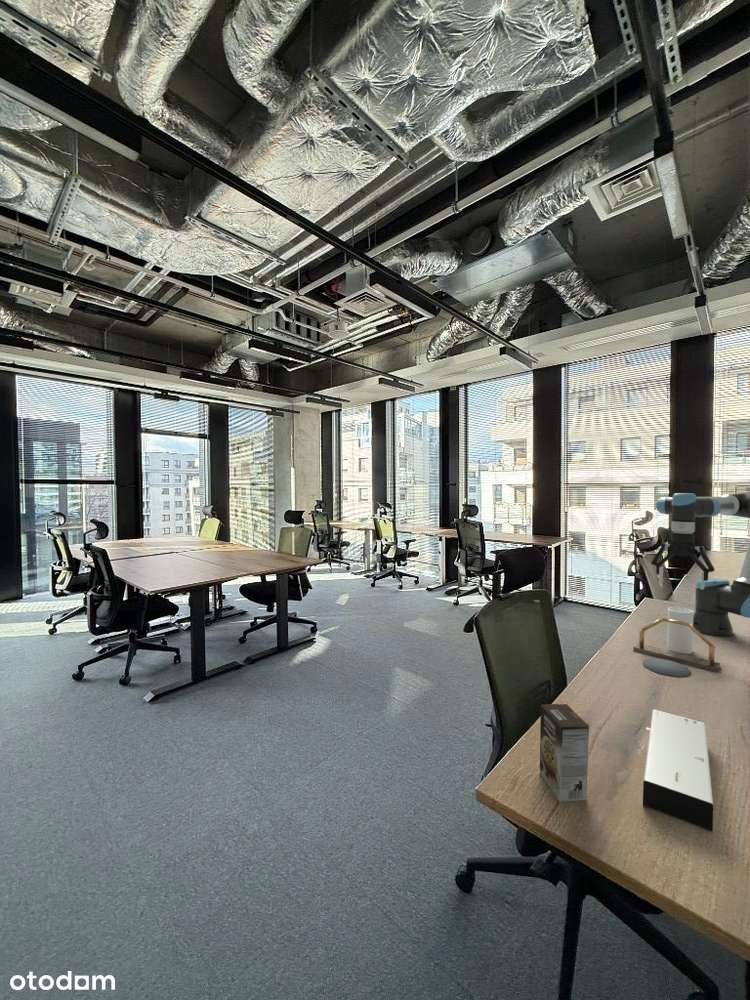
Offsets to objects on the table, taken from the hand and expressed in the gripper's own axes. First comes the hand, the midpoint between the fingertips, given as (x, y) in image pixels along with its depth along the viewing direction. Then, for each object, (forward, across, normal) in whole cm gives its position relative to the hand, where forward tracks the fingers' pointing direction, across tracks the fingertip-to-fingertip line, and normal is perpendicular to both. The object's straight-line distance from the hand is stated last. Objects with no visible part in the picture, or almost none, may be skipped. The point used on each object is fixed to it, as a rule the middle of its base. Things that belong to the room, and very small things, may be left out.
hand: (681, 585), depth 168 cm
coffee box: (+26, +2, -111) cm, 114 cm away
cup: (+26, 0, 0) cm, 26 cm away
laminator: (+26, +17, -87) cm, 93 cm away
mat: (+26, +1, -24) cm, 35 cm away
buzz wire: (+26, +1, -12) cm, 28 cm away
